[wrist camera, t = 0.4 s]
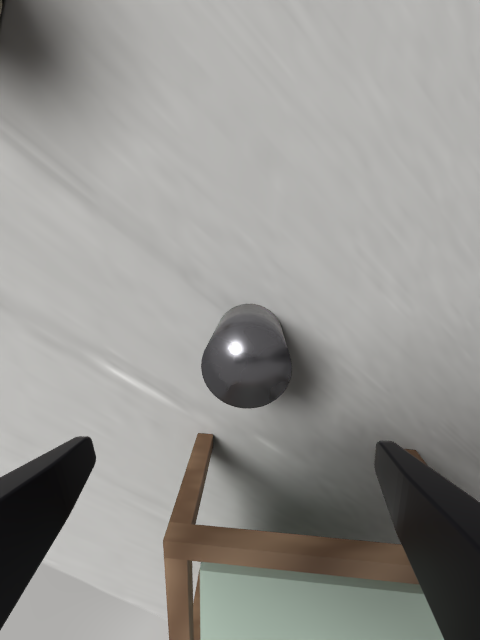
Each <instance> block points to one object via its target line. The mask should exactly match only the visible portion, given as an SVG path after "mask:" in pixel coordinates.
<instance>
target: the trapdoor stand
mask: <svg viewBox="0 0 480 640" xmlns="http://www.w3.org/2000/svg"><path fill="white" fill-rule="evenodd" d="M212 449H213V434H201V433H198V435H197V438H196V441H195V444H194V447H193V450H192V453H191V456H190V459H189V462H188V465H187V469H186V472H185V475H184V478H183V481H182V484H181V487H180V490H179V493H178V496H177V499H176V502H175V506H174V509H173V512H172V515H171V518H170V521H169V524H168V527H167V530H166V533H165V536H164V539H163V548H164V564H165V579H166V595H167V611H168V626H169V640H201V639H200V570H199V575H198V581H197V586H196V592H195V597H194V603H193V581H192V561H199V562H209V563H218V564H228V565H238V566H247V567H257V568H266V569H276V570H285V571H295V572H304V573H314V574H323V575H333V576H342V577H352V578H361V579H371V580H381V581H390V582H400V583H409V584H419V582H418V580H417V578H416V575H415V573H414V571H413V569H412V567H411V564H410V562H409V560H408V558H407V555H406V553H405V551H404V549H403V546H402V545H401V544H390V543H380V542H370V541H360V540H349V539H339V538H329V537H318V536H308V535H298V534H287V533H277V532H267V531H256V530H246V529H236V528H225V527H215V526H205V525H195V524H196V519H197V515H198V510H199V506H200V502H201V497H202V493H203V488H204V484H205V480H206V475H207V471H208V466H209V462H210V458H211V453H212ZM404 450H406V451H407V452H409V453H410V454H411V455H413V456H414V457H416V458H417V459H419V460H420V461H421V462H423V463H424V464H426V463H425V462H424V460H423V459H422V458H421V456H420V455H419V454H418V452H417V451H416V450H409V449H404ZM426 465H427V464H426ZM427 466H428V465H427ZM419 585H420V584H419Z"/></svg>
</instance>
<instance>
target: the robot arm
mask: <svg viewBox="0 0 480 640" xmlns="http://www.w3.org/2000/svg"><path fill="white" fill-rule="evenodd" d="M95 462H96V455H95V451H94V447H93V443H92V439H91V438H90V437H82V436H79V437H75V438H73V439H71V440H70V441H68V442H66V443H64V444H62V445H60V446H58V447H56V448H55V449H53V450H51V451H49V452H47V453H45V454H43V455H41V456H40V457H38V458H36V459H34V460H32V461H30V462H28V463H27V464H25V465H23V466H21V467H19V468H17V469H15V470H13V471H12V472H10V473H8V474H6V475H4V476H2V477H0V630H1V628H2V627H3V625H4V623H5V622H6V620H7V618H8V616H9V615H10V613H11V612H12V610H13V608H14V607H15V605H16V603H17V602H18V600H19V598H20V597H21V595H22V593H23V592H24V590H25V588H26V587H27V585H28V583H29V582H30V580H31V578H32V576H33V575H34V573H35V572H36V570H37V568H38V567H39V565H40V564H41V562H42V560H43V559H44V557H45V555H46V554H47V552H48V550H49V549H50V547H51V545H52V544H53V542H54V540H55V539H56V537H57V535H58V534H59V532H60V530H61V529H62V527H63V525H64V524H65V522H66V520H67V518H68V517H69V515H70V513H71V511H72V509H73V507H74V505H75V503H76V501H77V499H78V497H79V495H80V493H81V491H82V489H83V487H84V485H85V483H86V481H87V479H88V477H89V475H90V473H91V471H92V469H93V467H94V465H95ZM374 465H375V471H376V475H377V478H378V481H379V484H380V486H381V489H382V492H383V495H384V498H385V501H386V504H387V507H388V510H389V513H390V516H391V519H392V522H393V524H394V527H395V530H396V532H397V535H398V537H399V540H400V542H401V544H402V546H403V549H404V551H405V553H406V555H407V558H408V560H409V562H410V564H411V567H412V569H413V571H414V573H415V575H416V578H417V580H418V582H419V584H420V587H421V589H422V591H423V593H424V596H425V598H426V600H427V602H428V605H429V607H430V609H431V611H432V614H433V616H434V618H435V620H436V622H437V625H438V627H439V629H440V631H441V634H442V636H443V638H444V640H480V502H478V501H477V500H476V499H474V498H473V497H471V496H470V495H468V494H467V493H466V492H464V491H463V490H461V489H460V488H458V487H457V486H456V485H454V484H453V483H451V482H450V481H448V480H447V479H446V478H444V477H443V476H441V475H440V474H439V473H437V472H436V471H434V470H433V469H431V468H430V467H429V466H427V465H426V464H424V463H423V462H421V461H420V460H419V459H417V458H416V457H414V456H413V455H411V454H410V453H409V452H407V451H406V450H404V449H403V448H402V447H400V446H399V445H397V444H396V443H394V442H392V441H379V442H377V444H376V453H375V464H374Z"/></svg>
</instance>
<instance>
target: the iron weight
mask: <svg viewBox="0 0 480 640" xmlns="http://www.w3.org/2000/svg"><path fill="white" fill-rule="evenodd" d="M201 368H202V375H203V378H204V381H205V383H206V385H207V387H208V388H209V390H210V391H211V392H212V393H213V394H214V395H215V396H216V397H217V398H218V399H220V400H221V401H223V402H224V403H226V404H229V405H231V406H234V407H238V408H257V407H261V406H264V405H267V404H269V403H271V402H272V401H274V400H275V399H277V398H278V397H279V396H280V395H281V394H282V393H283V392H284V390H285V389H286V387H287V385H288V383H289V381H290V378H291V372H292V365H291V359H290V355H289V352H288V348H287V345H286V341H285V338H284V334H283V331H282V327H281V325H280V322H279V320H278V319H277V317H276V316H275V315H274V314H273V313H272V312H271V311H269V310H268V309H266V308H265V307H262V306H260V305H256V304H243V305H239V306H236V307H234V308H232V309H230V310H229V311H228V312H226V314H225V315H224V316H223V317H222V318H221V320H220V322H219V324H218V326H217V328H216V330H215V331H214V333H213V335H212V337H211V339H210V341H209V343H208V345H207V347H206V349H205V351H204V354H203V357H202V364H201Z"/></svg>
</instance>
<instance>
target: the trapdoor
mask: <svg viewBox="0 0 480 640" xmlns="http://www.w3.org/2000/svg"><path fill="white" fill-rule="evenodd" d="M200 639H201V640H444V638H443V636H442V634H441V631H440V629H439V627H438V625H437V622H436V620H435V618H434V616H433V614H432V611H431V609H430V607H429V605H428V602H427V600H426V598H425V596H424V593H423V591H422V589H421V587H420V585H419V584H409V583H400V582H390V581H381V580H371V579H361V578H352V577H342V576H333V575H323V574H314V573H304V572H295V571H285V570H276V569H266V568H257V567H247V566H238V565H228V564H218V563H209V562H201V566H200Z"/></svg>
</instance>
